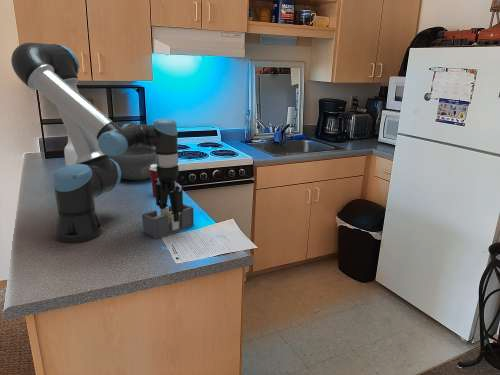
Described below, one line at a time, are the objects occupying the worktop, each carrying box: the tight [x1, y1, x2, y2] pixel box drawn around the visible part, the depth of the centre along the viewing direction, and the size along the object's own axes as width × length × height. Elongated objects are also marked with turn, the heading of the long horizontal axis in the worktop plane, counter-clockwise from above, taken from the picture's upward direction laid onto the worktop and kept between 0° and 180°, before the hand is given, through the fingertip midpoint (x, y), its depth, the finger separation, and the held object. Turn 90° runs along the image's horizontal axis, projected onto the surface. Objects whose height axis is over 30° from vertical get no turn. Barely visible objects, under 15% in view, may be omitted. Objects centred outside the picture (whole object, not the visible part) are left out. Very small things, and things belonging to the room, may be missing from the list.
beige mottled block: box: [153, 211, 180, 231], centre depth 138 cm, size 13×4×5 cm, turn 140°
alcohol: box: [63, 134, 78, 166], centre depth 177 cm, size 9×9×30 cm
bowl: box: [109, 147, 156, 181], centre depth 195 cm, size 24×24×15 cm
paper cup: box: [150, 164, 159, 198], centre depth 171 cm, size 8×8×14 cm
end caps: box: [141, 203, 195, 240], centre depth 138 cm, size 17×8×7 cm, turn 140°
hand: (170, 227), depth 139 cm, fingers open, 5 cm apart
